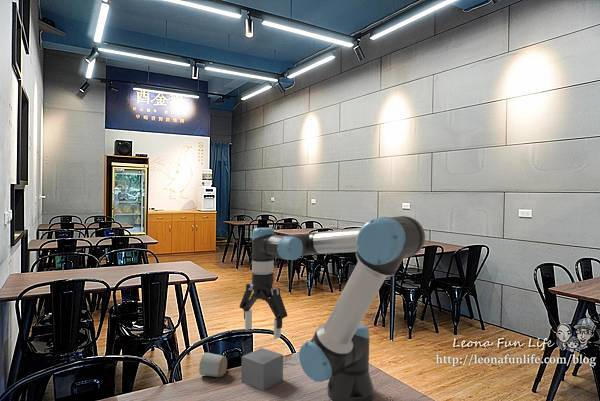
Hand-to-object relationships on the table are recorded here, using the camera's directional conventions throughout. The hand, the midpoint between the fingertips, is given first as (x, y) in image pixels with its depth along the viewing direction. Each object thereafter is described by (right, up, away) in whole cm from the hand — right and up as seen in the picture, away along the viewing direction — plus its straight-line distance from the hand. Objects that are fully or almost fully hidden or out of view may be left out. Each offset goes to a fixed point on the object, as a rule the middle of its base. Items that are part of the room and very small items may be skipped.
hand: (262, 333), depth 139 cm
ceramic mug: (-18, -17, +6) cm, 25 cm away
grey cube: (0, -17, 0) cm, 17 cm away
